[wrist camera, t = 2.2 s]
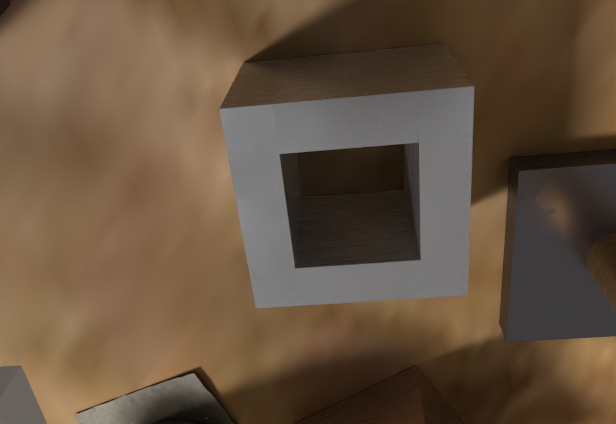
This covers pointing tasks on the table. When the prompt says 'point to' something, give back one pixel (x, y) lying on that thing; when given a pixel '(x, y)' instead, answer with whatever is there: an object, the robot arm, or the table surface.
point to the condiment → (161, 406)
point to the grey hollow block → (353, 206)
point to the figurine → (4, 6)
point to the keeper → (560, 247)
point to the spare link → (391, 404)
